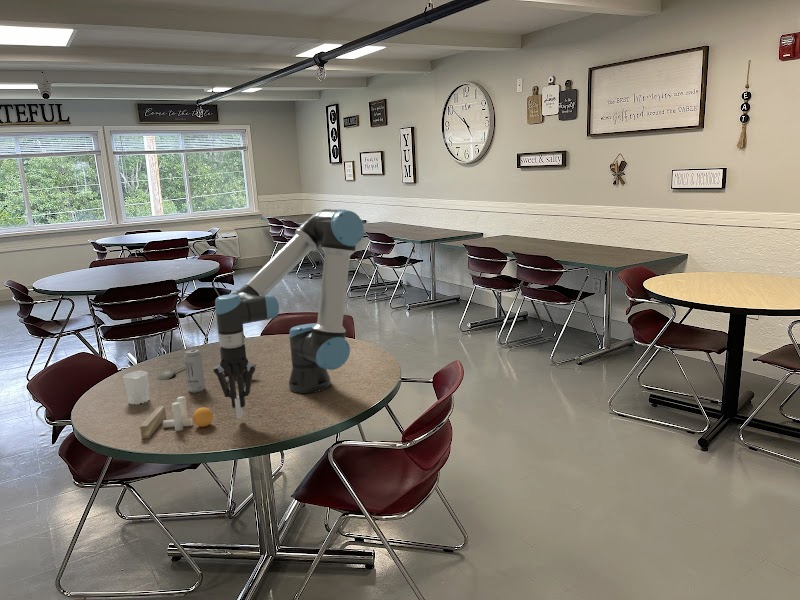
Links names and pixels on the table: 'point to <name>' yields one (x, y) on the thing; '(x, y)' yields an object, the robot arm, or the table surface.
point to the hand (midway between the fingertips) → (240, 416)
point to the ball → (203, 417)
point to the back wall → (153, 422)
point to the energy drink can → (194, 370)
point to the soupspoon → (167, 374)
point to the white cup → (137, 386)
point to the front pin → (171, 424)
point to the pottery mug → (245, 374)
